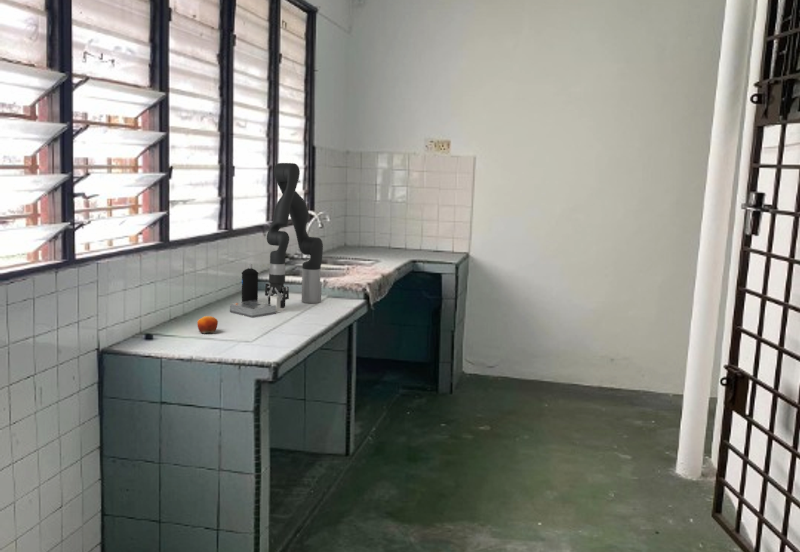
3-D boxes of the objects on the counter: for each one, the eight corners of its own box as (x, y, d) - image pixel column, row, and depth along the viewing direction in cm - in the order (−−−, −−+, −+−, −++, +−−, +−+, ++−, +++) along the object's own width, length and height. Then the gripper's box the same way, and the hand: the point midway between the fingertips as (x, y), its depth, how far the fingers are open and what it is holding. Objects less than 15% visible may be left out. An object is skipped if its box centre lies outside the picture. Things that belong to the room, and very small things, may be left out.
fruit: (200, 333, 287) (198, 314, 289) (197, 339, 293) (195, 320, 296) (221, 331, 290) (218, 312, 293) (217, 337, 297) (214, 319, 299)
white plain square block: (277, 309, 346) (277, 294, 345) (283, 310, 343) (283, 296, 342) (270, 310, 343) (270, 296, 342) (276, 312, 340) (276, 297, 339)
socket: (253, 308, 346) (253, 299, 345) (275, 313, 336) (276, 304, 335) (229, 312, 335) (229, 302, 334) (252, 317, 325) (252, 307, 325)
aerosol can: (261, 304, 357) (262, 264, 354) (249, 306, 350) (250, 265, 347) (249, 302, 361) (249, 262, 358) (237, 304, 354) (237, 264, 351)
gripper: (293, 274, 339) (292, 308, 341) (273, 270, 348) (272, 303, 350) (281, 275, 333) (280, 309, 335) (261, 271, 342) (260, 305, 344)
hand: (276, 306), depth 343 cm, fingers open, 8 cm apart
